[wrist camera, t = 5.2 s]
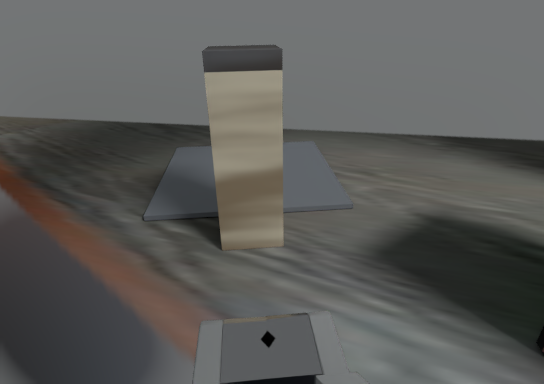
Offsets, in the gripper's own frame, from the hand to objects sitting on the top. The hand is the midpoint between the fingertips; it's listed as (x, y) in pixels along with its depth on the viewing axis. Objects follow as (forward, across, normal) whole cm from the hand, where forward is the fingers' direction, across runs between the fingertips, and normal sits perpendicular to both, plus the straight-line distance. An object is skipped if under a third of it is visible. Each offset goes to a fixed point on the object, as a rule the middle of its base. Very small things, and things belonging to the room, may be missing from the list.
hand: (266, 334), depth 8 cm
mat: (+25, 0, +6) cm, 26 cm away
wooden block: (+15, 0, +6) cm, 16 cm away
